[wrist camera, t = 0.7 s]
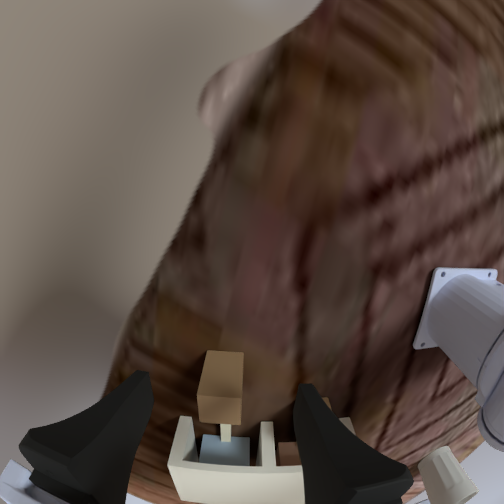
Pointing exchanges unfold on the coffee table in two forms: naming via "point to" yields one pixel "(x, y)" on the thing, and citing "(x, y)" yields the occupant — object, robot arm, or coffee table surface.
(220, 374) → the tan and blue dumbbell
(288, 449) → the tan block
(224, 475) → the shelf
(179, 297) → the coffee table surface
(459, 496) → the cup
